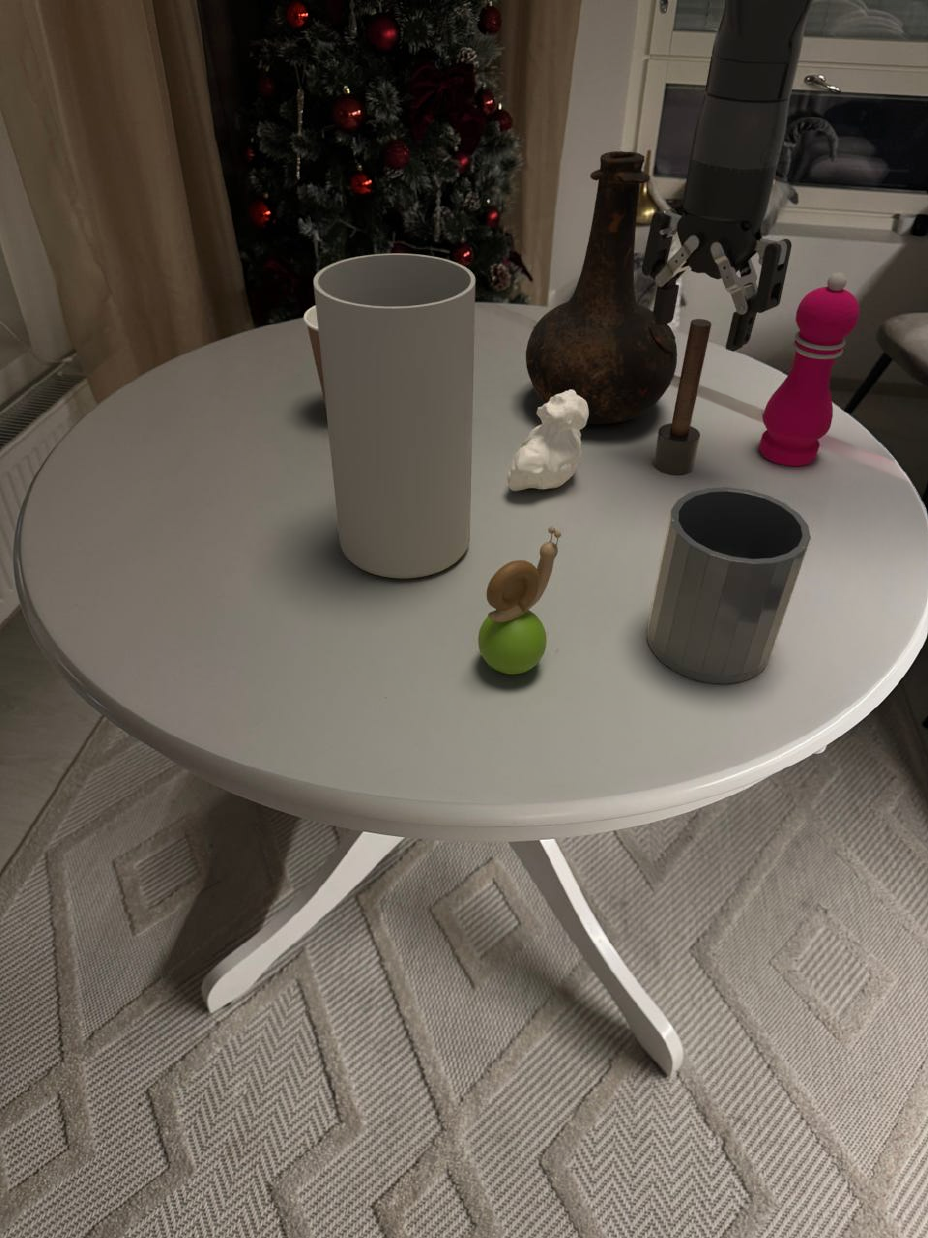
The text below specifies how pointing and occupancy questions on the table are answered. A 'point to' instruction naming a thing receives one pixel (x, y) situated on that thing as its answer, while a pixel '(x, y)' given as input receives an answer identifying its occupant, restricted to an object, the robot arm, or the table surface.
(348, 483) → the cylinder vase
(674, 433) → the brush
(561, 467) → the bust
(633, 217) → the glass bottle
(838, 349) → the pepper mill
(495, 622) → the snail figurine
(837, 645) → the table surface
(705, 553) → the grey pencil holder
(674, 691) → the table surface
